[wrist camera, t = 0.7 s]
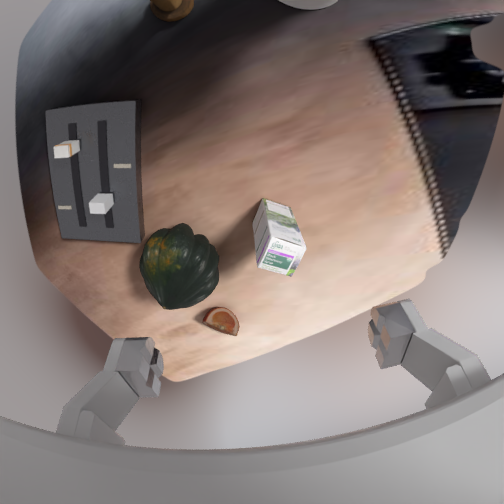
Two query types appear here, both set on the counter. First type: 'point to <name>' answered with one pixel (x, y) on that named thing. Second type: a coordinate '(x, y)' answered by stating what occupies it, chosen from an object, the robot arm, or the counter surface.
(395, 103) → the counter surface
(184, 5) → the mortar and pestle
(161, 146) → the counter surface
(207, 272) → the squash
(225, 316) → the fruit slice
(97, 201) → the block
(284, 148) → the counter surface
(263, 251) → the syrup box
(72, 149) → the block
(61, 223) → the console
